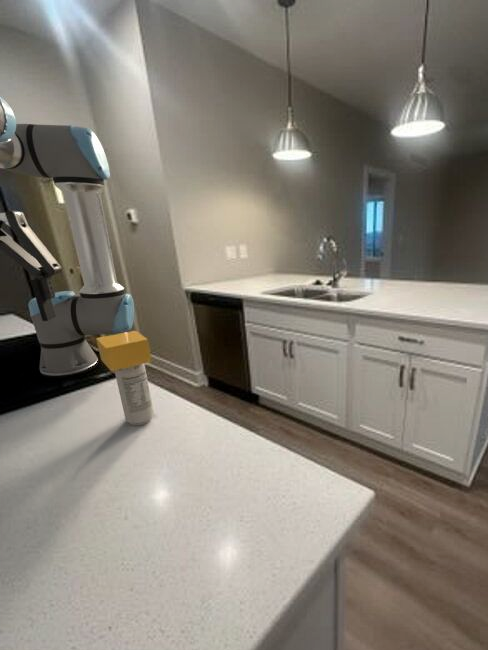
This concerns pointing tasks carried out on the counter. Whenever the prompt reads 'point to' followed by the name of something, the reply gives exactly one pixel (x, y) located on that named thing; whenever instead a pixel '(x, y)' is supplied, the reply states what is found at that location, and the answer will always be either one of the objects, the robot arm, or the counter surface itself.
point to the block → (124, 350)
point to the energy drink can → (135, 394)
